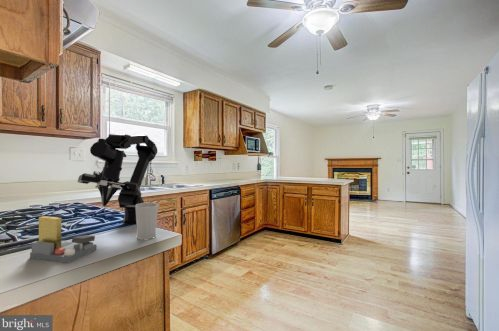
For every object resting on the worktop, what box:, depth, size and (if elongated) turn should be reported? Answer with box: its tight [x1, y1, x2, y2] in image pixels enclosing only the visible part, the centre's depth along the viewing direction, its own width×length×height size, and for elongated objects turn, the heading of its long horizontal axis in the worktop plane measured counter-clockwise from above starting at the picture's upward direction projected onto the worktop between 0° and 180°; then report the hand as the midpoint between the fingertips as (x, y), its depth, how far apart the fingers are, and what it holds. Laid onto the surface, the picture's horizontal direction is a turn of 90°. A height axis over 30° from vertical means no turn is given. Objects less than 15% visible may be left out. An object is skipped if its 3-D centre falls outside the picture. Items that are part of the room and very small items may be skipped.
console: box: [29, 240, 97, 264], centre depth 73 cm, size 10×12×5 cm
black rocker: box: [71, 234, 96, 243], centre depth 75 cm, size 5×3×1 cm, turn 171°
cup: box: [135, 202, 160, 241], centre depth 90 cm, size 8×8×12 cm
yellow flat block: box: [38, 215, 62, 251], centre depth 71 cm, size 2×6×10 cm, turn 81°
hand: (104, 206), depth 89 cm, fingers closed
